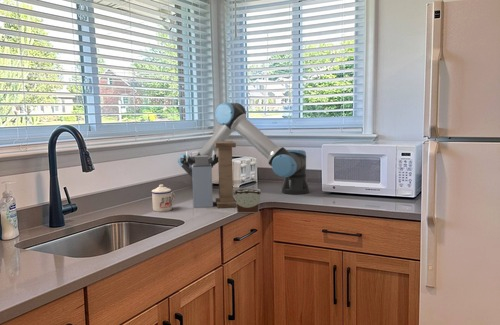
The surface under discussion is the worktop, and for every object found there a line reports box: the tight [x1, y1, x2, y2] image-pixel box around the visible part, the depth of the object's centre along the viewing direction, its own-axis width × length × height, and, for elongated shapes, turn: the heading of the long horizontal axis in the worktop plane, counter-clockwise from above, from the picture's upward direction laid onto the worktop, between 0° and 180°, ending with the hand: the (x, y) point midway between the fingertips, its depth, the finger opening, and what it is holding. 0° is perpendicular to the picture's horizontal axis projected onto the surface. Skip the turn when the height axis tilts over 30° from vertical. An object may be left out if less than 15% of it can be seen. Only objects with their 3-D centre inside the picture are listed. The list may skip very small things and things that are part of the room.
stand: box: [214, 140, 237, 209], centre depth 208 cm, size 14×9×30 cm, turn 8°
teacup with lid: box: [151, 184, 176, 213], centre depth 202 cm, size 12×9×12 cm
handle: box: [194, 155, 208, 166], centre depth 214 cm, size 19×6×4 cm, turn 8°
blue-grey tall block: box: [191, 163, 214, 209], centre depth 210 cm, size 11×9×20 cm
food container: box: [233, 187, 262, 214], centre depth 195 cm, size 12×6×10 cm, turn 84°
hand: (200, 153), depth 221 cm, fingers open, 13 cm apart
